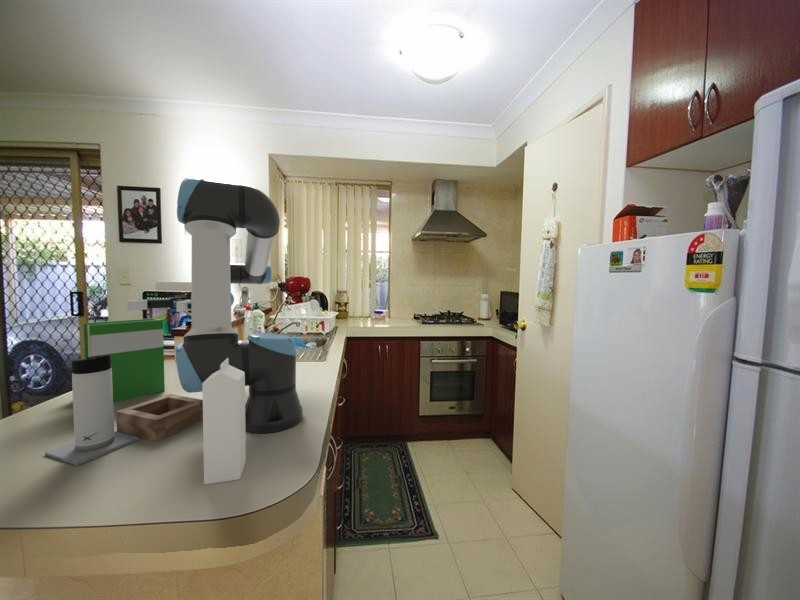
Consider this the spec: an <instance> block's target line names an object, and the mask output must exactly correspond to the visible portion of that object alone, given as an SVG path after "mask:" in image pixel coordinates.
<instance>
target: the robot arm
mask: <svg viewBox="0 0 800 600" xmlns="http://www.w3.org/2000/svg"><path fill="white" fill-rule="evenodd" d="M176 201H177V202H176V204H177V206H176V218H177V221H178V222H179V223H181V224H182V225H184V226H183V227H184V228H183V229H184V230H185V231H186V232H187V233H188V234H189V235H190V237H191V284H190V285H191V288H190V289H191V291H188V292H187V293H186V294H185V295H184V296H180V297H169V298H161V299H160V298H158V299H157V298H156V299H137V300H136V299H135V300H127V301H126V300H125V301H124V302H125V303H124V305H125V306H124V307H125V312H133V311H135V312H136V311H141V312H146V310H148V309H171V310H176V313H181V312H187V313H188V314H189V313H190V314H191V323H190V324H191V325H190V326H191V328H190V329H189V331H188V332H186V333H185V334H184V336H183V343H182V342H181V343H178V344H177V345H176V346H175V363H176V369H177V375H178V379H179V382H180V383H179V384H180V385H181V388H182V389H183V390H184V391H185V392H187V393H191V394H192V393H201V392H202V393H203V391H202V383H203V382H204V381H205V380H206V379H207V378H208V377H210V376H211V375H212V374H213V373H215V372H216V371H218V370H220V365H221V364H222V363H223V362H224V361H225V360H226V359H227V358H229V365H230V366H233V367H235V368H237V369H239V370H241V371H243V372H245V387H247V386H248V396H247V399H246V401H245V432H246V431H247V432H250V433H255V434H256V433H257V434H268V433H269V434H271V433H277V432H280V431H284V430H288V429H290V428H292V427H294V426H296V425H298V424H299V423H300V422H301V421H302V420H303V415H304V414H303V409H304V408H303V406H302V405H301V402H300V398H299V395H298V391H297V381H296V380H297V374H296V373H297V372H296V371H297V370H296V369H297V364H296V361H297V358H296V357H297V348H296V340H295V339H294V338H293V337H291V336H289V335H287V334H280V333H271V332H252V333H249V334H248V335H247V339H239V332H238V331H237V330H236V329H234V328H233V326H232V306H233V305H234V302H235V297H234V295H233V293H232V291H231V290H232V287H231V286H232V285H233V284H234V285H235V284H242V285H244V284H245V285H247V284H248V285H266V284H268V285H269V284H270V283H271V281H272V267H271V266H270V265H269V260H270V257H271V256H270V254H271V251H272V246H273V241H274V238H275V237H276V236H277V234H278V233H279V230H280V225H281V223H280V222H281V221H280V220H281V219H280V214H279V211H278V209H277V207H276V205H275V204H274V202H273V201H272V200H271V199H270V197H269V196H267V195H266V194H265V193H264V191H261V190H260V189H258V188H256V187H254V186H251V185H247V184H238V183H233V182H227V181H226V182H225V181H218V180H213V179H212V180H211V179H206V178H204V177H201V178H197V177H186V178H185V179H183V180H182V181H181V183H180V186H179V188H178V193H177V200H176ZM237 229H245V230H246V232H247V236H246V246H245V247H246V248H245V257H244V258H245V259H244V261H245V262H244V263H237V262H235V263H234V262H231V238H233V237H234V236H235V235H236V234H237Z"/></svg>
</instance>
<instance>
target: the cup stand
mask: <svg viewBox="0 0 800 600" xmlns="http://www.w3.org/2000/svg"><path fill="white" fill-rule="evenodd" d="M115 416H116V419H115V420H116V432H119V433H123V434H126V435H130V436H134V437H138V438H142V439H145V440H150V441H152V442H159V441H161V440H163V439H165V438H168V437H170V436H172V435H174V434H176V433H179V432H182V431H183V430H185V429H188V428H190V427H192V426H195V425H197V424H199V423H201V422H203V399H200V398H195V397H191V396H190V397H189V396H185V395H184V396H182V395H178V394H174V393H172V394H171V393H168V394H165V395H162V396H159V397H157V398H153V399H150V400H147V401H144V402H141V403H138V404H136V405H132V406H128V407H125V408H123V409H119V410H116V411H115Z"/></svg>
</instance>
